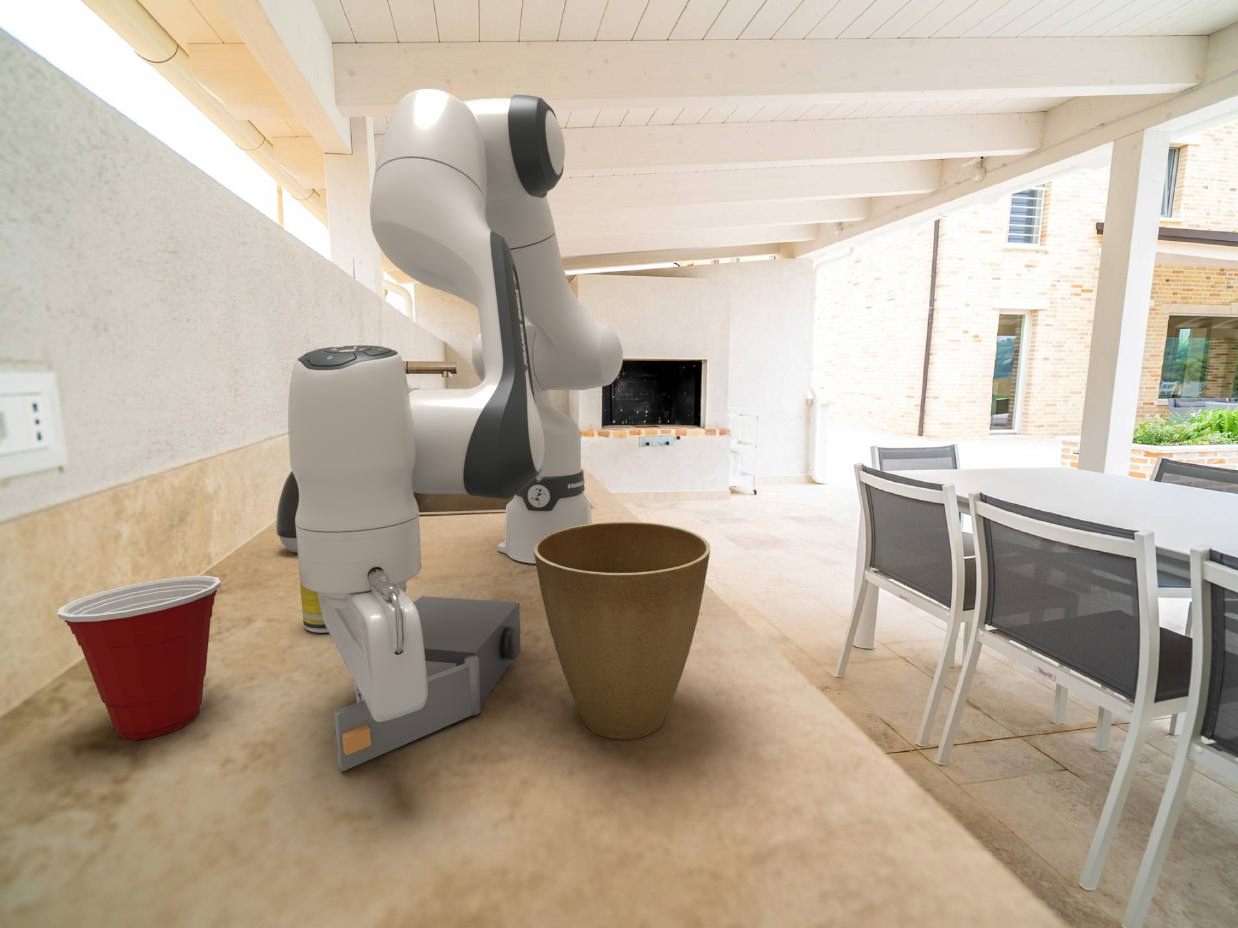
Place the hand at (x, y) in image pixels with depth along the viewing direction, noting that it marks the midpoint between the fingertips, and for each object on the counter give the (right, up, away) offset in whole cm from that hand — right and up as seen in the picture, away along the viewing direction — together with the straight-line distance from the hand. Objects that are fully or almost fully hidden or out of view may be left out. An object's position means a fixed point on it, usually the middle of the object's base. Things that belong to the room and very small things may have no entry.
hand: (372, 715), depth 48 cm
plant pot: (+21, -2, +4) cm, 21 cm away
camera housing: (+3, -1, +11) cm, 12 cm away
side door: (+4, -2, 0) cm, 4 cm away
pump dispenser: (-34, +5, +55) cm, 65 cm away
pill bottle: (-15, +1, +23) cm, 28 cm away
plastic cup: (-20, -2, +3) cm, 21 cm away
